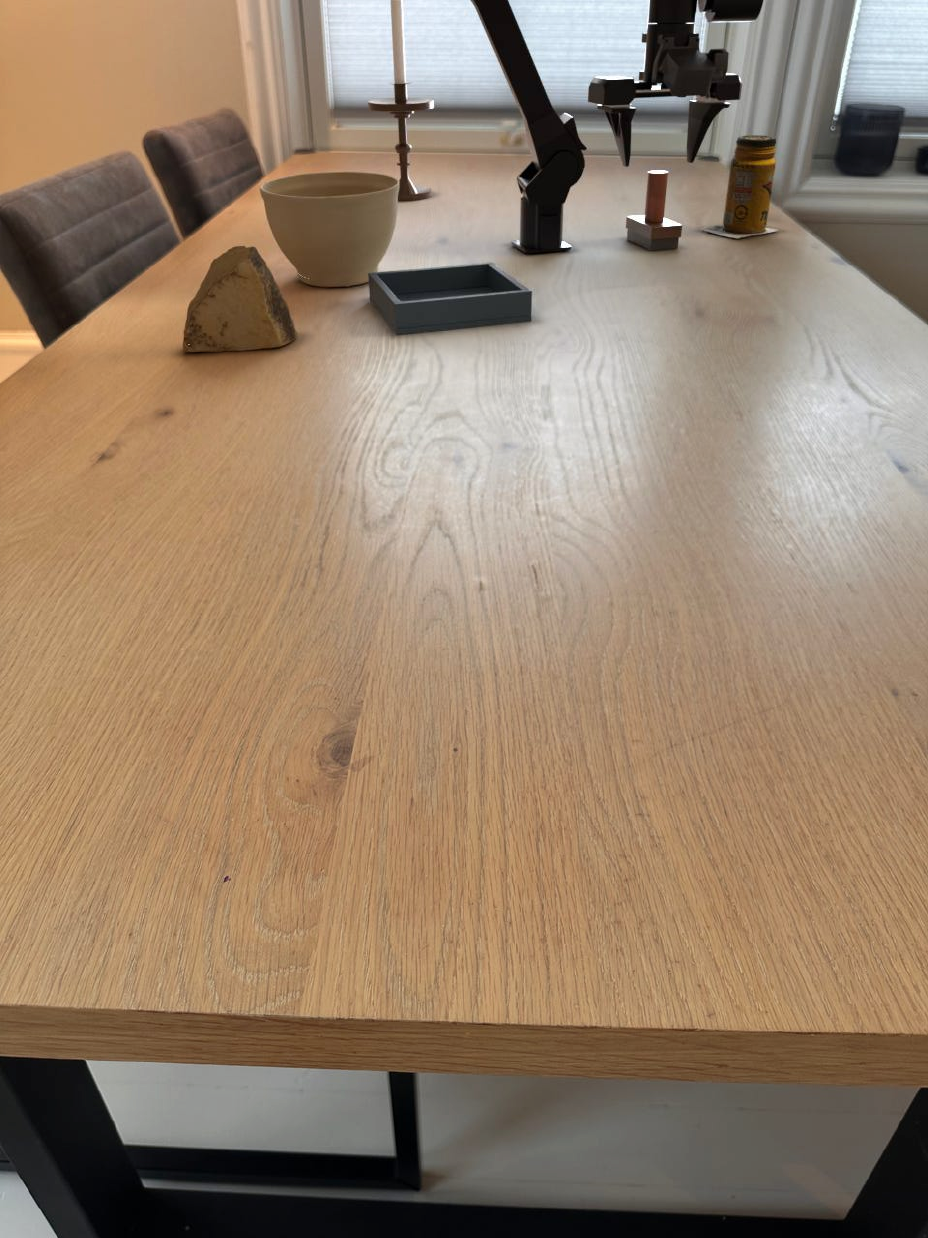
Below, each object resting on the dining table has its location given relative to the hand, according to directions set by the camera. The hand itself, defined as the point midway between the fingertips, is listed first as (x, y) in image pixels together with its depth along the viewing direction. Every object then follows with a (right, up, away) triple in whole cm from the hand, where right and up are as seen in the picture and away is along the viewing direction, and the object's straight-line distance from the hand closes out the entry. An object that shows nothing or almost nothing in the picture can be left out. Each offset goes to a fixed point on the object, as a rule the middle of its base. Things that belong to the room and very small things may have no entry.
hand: (658, 164), depth 123 cm
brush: (0, -8, +5) cm, 10 cm away
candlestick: (-36, +14, +40) cm, 55 cm away
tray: (-27, -26, -20) cm, 42 cm away
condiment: (+14, -4, +11) cm, 18 cm away
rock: (-48, -32, -29) cm, 65 cm away
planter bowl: (-41, -18, -8) cm, 45 cm away
